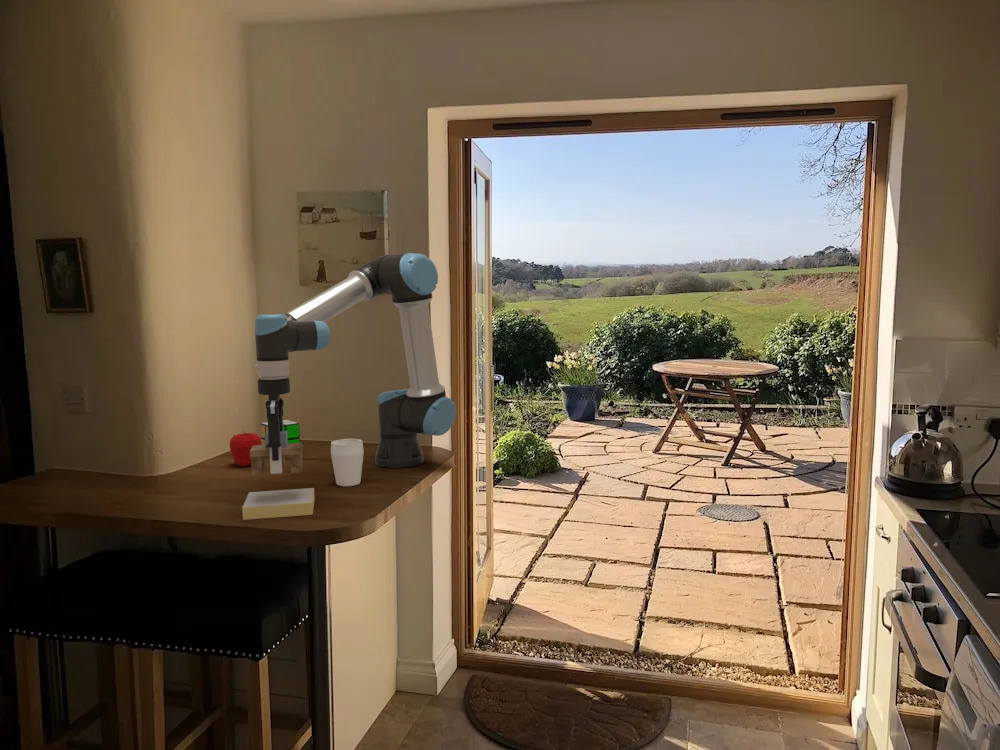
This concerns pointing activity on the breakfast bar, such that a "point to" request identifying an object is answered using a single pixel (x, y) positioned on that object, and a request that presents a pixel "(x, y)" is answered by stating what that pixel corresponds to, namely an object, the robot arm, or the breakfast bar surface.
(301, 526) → the breakfast bar surface
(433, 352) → the robot arm
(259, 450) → the block
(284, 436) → the blue-grey block
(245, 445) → the apple
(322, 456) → the breakfast bar surface
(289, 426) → the puzzle cube
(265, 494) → the dock
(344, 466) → the cup
